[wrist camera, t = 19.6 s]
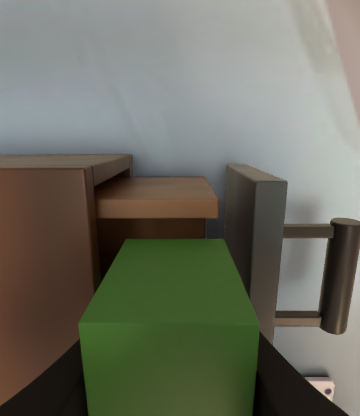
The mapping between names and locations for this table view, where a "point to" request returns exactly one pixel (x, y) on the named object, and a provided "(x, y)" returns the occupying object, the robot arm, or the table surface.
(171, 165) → the table surface
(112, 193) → the drawer
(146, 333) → the green rectangular box
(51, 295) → the cabinet
